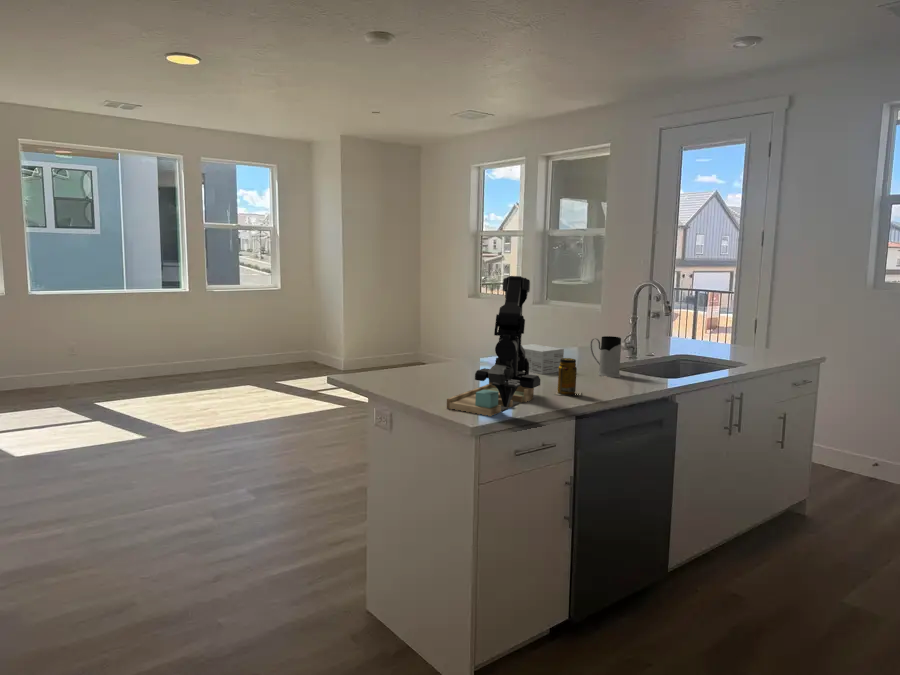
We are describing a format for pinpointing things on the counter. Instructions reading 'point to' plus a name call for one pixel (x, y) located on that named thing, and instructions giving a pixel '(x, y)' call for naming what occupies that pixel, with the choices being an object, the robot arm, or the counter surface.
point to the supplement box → (543, 358)
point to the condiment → (567, 377)
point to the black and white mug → (609, 356)
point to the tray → (468, 404)
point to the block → (486, 398)
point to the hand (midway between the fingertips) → (505, 406)
